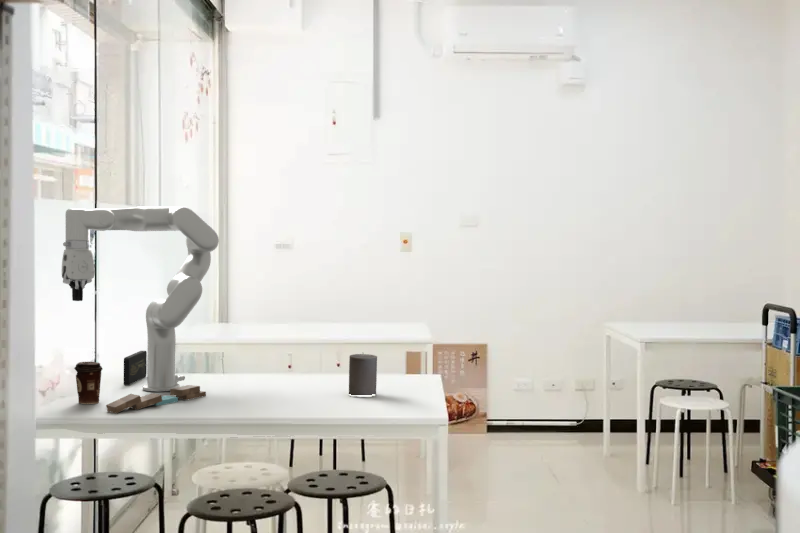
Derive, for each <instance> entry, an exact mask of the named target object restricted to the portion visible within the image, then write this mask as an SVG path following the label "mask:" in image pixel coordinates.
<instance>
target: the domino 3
mask: <svg viewBox="0 0 800 533" xmlns="http://www.w3.org/2000/svg"><path fill="white" fill-rule="evenodd" d="M200 391H201V386H200V385H192V384H187V385H183V386H180V387H177V388H172V389H170V391H169V392H170V395H169V396H175V397H176V396H185V395H189V394H194V393H198V392H200Z"/></svg>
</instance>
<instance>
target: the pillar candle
mask: <svg viewBox="0 0 800 533" xmlns="http://www.w3.org/2000/svg"><path fill="white" fill-rule="evenodd" d="M348 363H349V364H348V366H349V367H348V368H349V369H348V394H351V395H372V394H376V395H377V383H378V382H377V379H378V378H377V376H378V374H377V373H378V371H377V370H378V369H377V368H378V356H377V355H375V354H370V353H369V354H366V353H365V354H364V353H359V354H358V353H355V354H350V355H349V362H348Z"/></svg>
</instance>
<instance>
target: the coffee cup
mask: <svg viewBox="0 0 800 533" xmlns="http://www.w3.org/2000/svg"><path fill="white" fill-rule="evenodd" d="M73 369H74V370H75V372H76V374H75V380H76V391H77V396H78V403H79V404H82V405H95V404H98V403H100V393H101V379H102V371H103V367H102V365H101V363H100V362H96V361H80V362H77V363H76V365H75V367H74V368H73Z"/></svg>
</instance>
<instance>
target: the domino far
mask: <svg viewBox="0 0 800 533" xmlns="http://www.w3.org/2000/svg"><path fill="white" fill-rule="evenodd" d="M140 397H141V396H140V395H139V394H135V393H130V394H127V395H125V396H123V397H121V398H118V399H116V400H115V401H112V402H110V403H107V404H106V405H105V406H106V410H107V412H109V413H113V414H118V413H121V412H122V411H124V410H126V409H130V407H131V406H133V405H135V404H137V403H140V402H141V398H140Z"/></svg>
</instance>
